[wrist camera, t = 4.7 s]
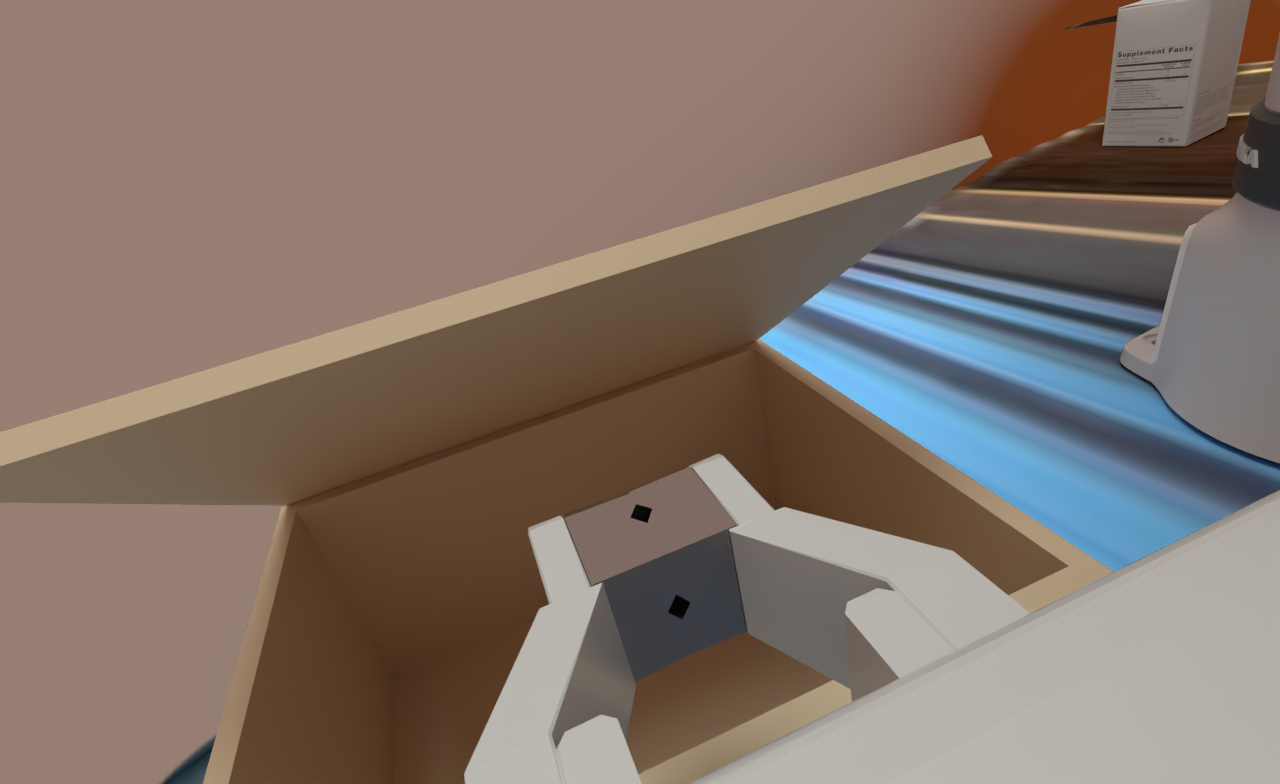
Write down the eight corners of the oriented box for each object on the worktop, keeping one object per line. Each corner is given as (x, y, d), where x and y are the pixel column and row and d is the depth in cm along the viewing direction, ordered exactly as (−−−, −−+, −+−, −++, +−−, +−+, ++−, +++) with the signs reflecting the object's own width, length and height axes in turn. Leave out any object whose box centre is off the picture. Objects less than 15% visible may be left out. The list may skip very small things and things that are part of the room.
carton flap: (992, 156, 13) (980, 131, 13) (-112, 501, 9) (-122, 462, 9) (755, 341, 28) (750, 328, 28) (287, 505, 24) (282, 490, 24)
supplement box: (1140, 128, 81) (1160, -8, 74) (1227, 127, 74) (1259, -24, 67) (1098, 147, 78) (1115, 6, 71) (1185, 148, 71) (1214, -9, 64)
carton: (1067, 823, 19) (1115, 573, 14) (375, 1228, 15) (122, 1063, 10) (783, 517, 33) (759, 339, 28) (386, 683, 29) (281, 507, 24)
